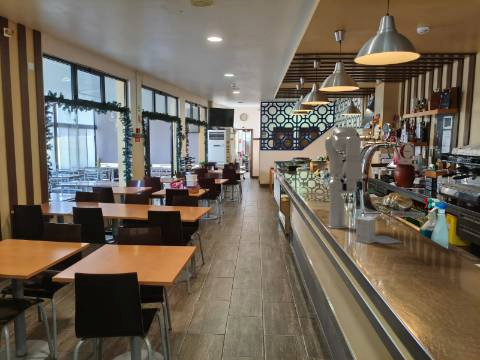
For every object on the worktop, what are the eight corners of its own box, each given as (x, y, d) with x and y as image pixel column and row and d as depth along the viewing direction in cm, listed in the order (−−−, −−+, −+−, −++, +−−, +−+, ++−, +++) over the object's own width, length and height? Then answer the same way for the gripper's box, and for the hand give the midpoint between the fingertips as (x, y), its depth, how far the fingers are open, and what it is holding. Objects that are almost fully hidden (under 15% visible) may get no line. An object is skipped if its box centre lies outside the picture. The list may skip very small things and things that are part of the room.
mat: (365, 237, 216) (365, 236, 216) (384, 236, 219) (384, 235, 219) (382, 244, 201) (382, 243, 201) (402, 243, 204) (402, 242, 204)
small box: (375, 242, 206) (375, 219, 205) (368, 244, 202) (369, 220, 201) (362, 239, 212) (362, 216, 211) (355, 241, 208) (356, 218, 207)
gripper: (362, 159, 209) (362, 189, 210) (335, 159, 204) (334, 190, 206) (370, 159, 202) (370, 190, 203) (342, 159, 197) (341, 191, 198)
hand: (352, 190), depth 204 cm, fingers open, 9 cm apart
